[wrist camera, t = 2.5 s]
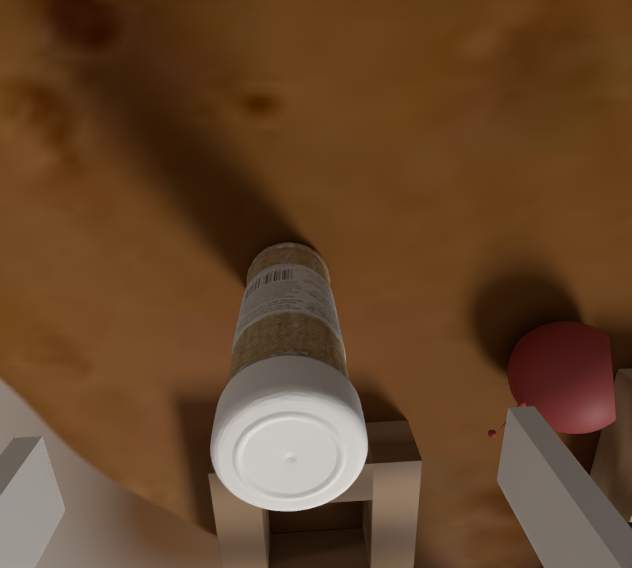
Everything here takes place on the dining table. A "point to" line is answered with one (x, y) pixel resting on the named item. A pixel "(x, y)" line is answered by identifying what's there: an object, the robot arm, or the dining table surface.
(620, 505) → the open square frame
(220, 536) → the collar block
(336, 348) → the sprinkles bottle
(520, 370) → the fruit
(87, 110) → the dining table surface
